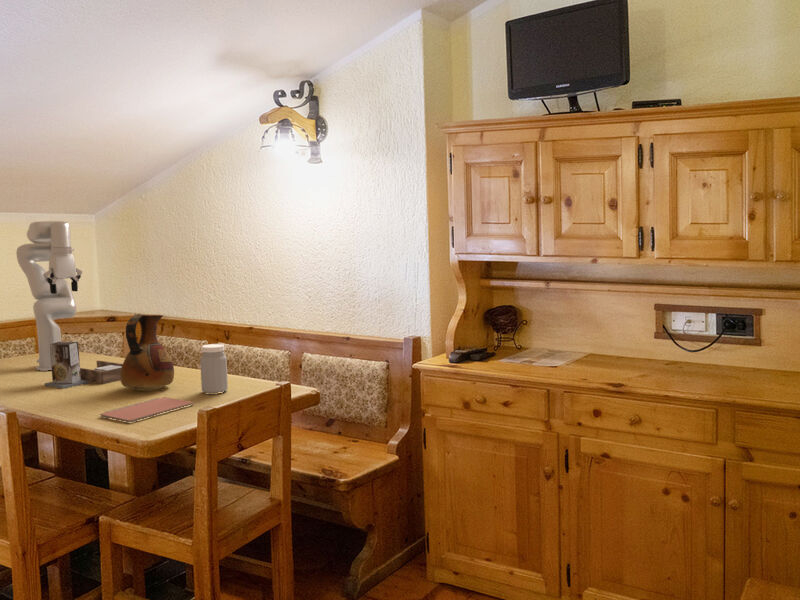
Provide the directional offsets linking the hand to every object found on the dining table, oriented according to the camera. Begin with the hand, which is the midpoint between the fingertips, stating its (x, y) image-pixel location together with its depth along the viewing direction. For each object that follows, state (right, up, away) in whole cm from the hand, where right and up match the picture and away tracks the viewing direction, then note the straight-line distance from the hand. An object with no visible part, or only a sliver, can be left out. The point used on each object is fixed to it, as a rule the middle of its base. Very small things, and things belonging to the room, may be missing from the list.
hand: (64, 292), depth 315 cm
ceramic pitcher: (+42, -38, -20) cm, 60 cm away
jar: (+70, -39, -27) cm, 84 cm away
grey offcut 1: (+17, -36, +1) cm, 40 cm away
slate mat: (+5, -38, -9) cm, 39 cm away
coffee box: (+5, -37, -9) cm, 38 cm away
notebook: (+53, -43, -54) cm, 86 cm away
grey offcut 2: (+21, -37, -1) cm, 42 cm away
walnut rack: (+14, -36, +3) cm, 39 cm away
